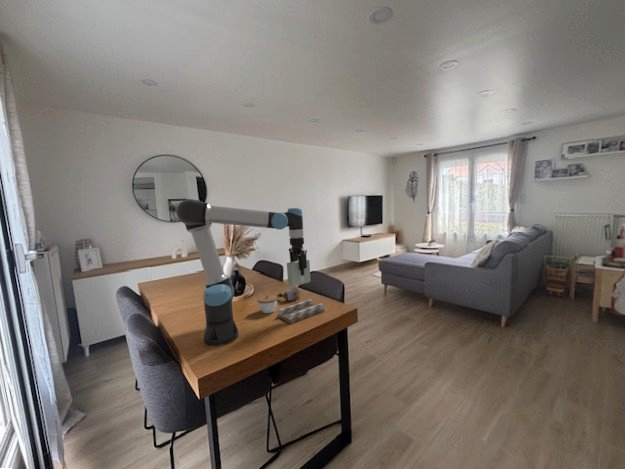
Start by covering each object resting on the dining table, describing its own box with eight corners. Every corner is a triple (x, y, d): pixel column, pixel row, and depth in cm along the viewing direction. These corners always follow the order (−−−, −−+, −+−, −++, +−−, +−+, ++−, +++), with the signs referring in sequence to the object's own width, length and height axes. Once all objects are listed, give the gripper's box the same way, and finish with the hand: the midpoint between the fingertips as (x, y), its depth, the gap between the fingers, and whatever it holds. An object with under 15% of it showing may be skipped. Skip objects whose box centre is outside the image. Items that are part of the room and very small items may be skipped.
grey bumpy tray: (291, 324, 129) (291, 316, 129) (277, 316, 139) (277, 309, 139) (324, 311, 143) (324, 304, 142) (309, 305, 153) (309, 298, 152)
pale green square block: (310, 281, 141) (309, 260, 140) (292, 286, 134) (290, 263, 133) (306, 280, 144) (304, 259, 143) (288, 285, 137) (286, 262, 136)
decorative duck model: (273, 291, 163) (286, 284, 176) (275, 303, 163) (288, 294, 176) (292, 291, 155) (305, 284, 168) (294, 304, 156) (307, 295, 169)
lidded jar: (275, 306, 154) (274, 291, 153) (279, 312, 144) (278, 296, 143) (257, 310, 150) (255, 294, 149) (260, 316, 140) (259, 299, 139)
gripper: (312, 237, 132) (314, 281, 135) (293, 235, 146) (295, 276, 148) (300, 238, 128) (303, 285, 130) (281, 237, 141) (284, 279, 143)
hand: (299, 280), depth 139 cm, fingers closed on pale green square block, 4 cm apart
